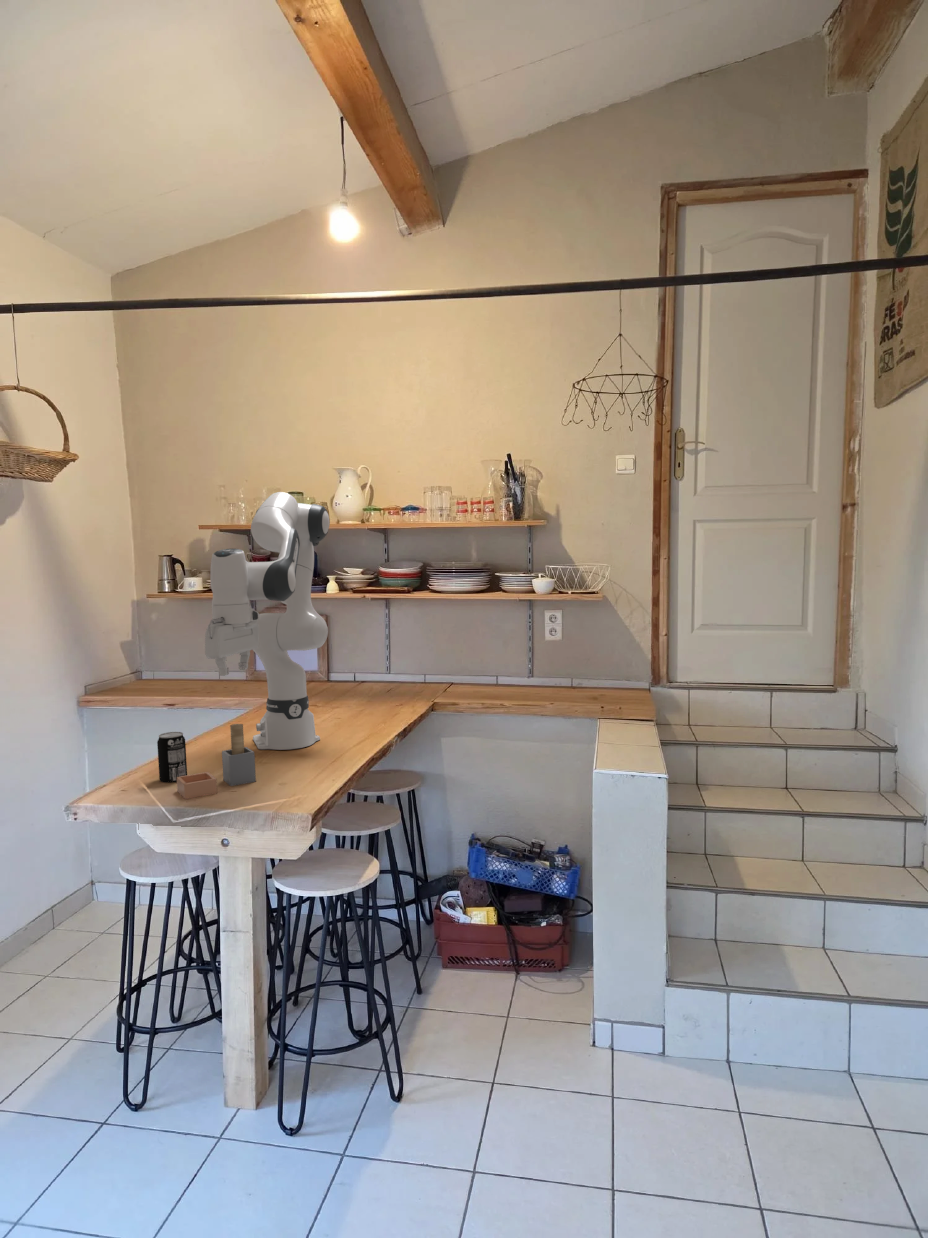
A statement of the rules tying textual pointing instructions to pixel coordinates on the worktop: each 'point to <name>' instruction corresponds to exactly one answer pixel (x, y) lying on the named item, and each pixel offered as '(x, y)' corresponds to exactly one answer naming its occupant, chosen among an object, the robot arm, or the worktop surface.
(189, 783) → the terracotta pot
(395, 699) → the worktop surface
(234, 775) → the deep cup
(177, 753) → the beverage can
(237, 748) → the dowel
